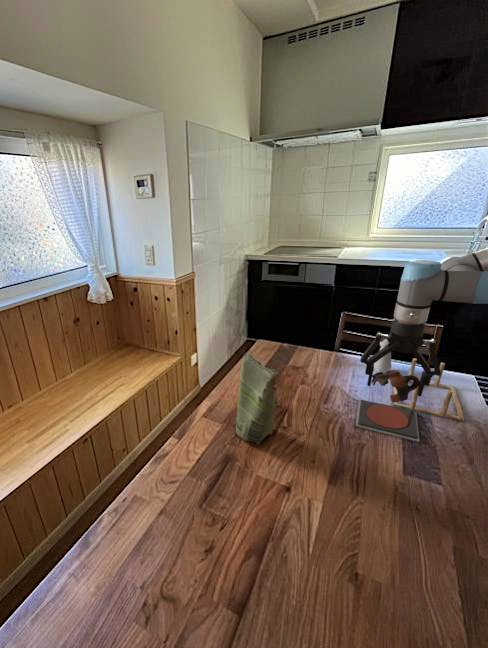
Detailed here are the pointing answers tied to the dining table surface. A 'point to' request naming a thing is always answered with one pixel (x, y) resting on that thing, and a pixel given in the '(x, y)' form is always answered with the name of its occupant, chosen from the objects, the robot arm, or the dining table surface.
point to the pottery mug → (397, 383)
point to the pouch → (255, 400)
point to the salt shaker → (383, 360)
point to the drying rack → (436, 384)
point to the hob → (388, 420)
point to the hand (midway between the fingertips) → (393, 388)
